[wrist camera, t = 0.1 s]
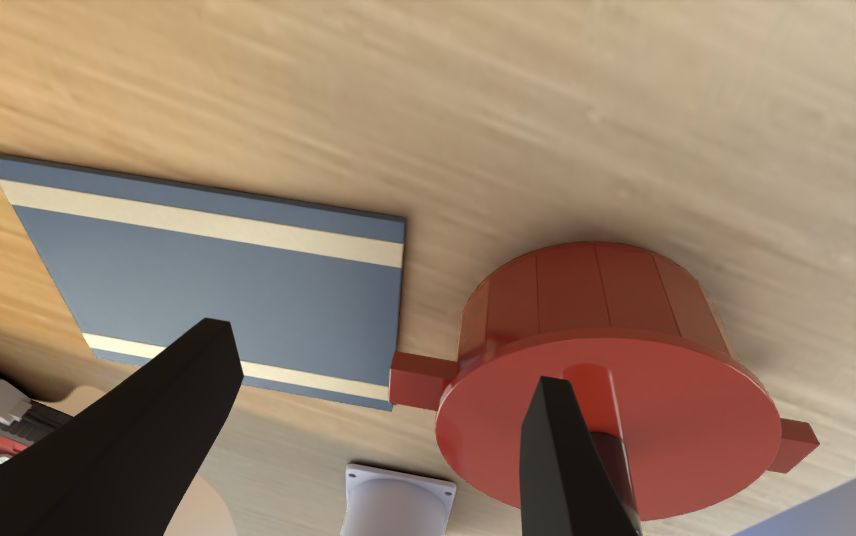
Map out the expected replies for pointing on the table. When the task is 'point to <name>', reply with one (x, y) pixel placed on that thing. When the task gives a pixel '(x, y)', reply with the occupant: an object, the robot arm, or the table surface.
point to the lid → (618, 416)
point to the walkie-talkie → (24, 421)
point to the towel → (220, 274)
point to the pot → (580, 318)
